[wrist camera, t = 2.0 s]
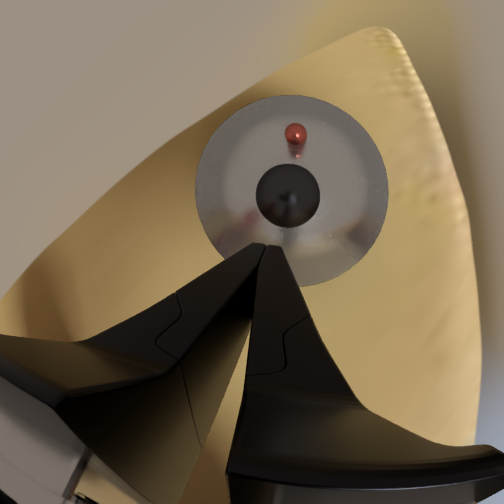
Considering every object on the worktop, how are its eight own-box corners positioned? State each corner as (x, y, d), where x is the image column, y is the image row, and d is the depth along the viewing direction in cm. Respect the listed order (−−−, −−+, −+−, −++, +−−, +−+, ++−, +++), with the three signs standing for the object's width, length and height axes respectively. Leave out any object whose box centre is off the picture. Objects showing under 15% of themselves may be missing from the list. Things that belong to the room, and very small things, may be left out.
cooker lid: (366, 291, 17) (373, 312, 14) (196, 265, 18) (179, 281, 16) (393, 114, 14) (407, 106, 12) (210, 94, 15) (192, 83, 13)
